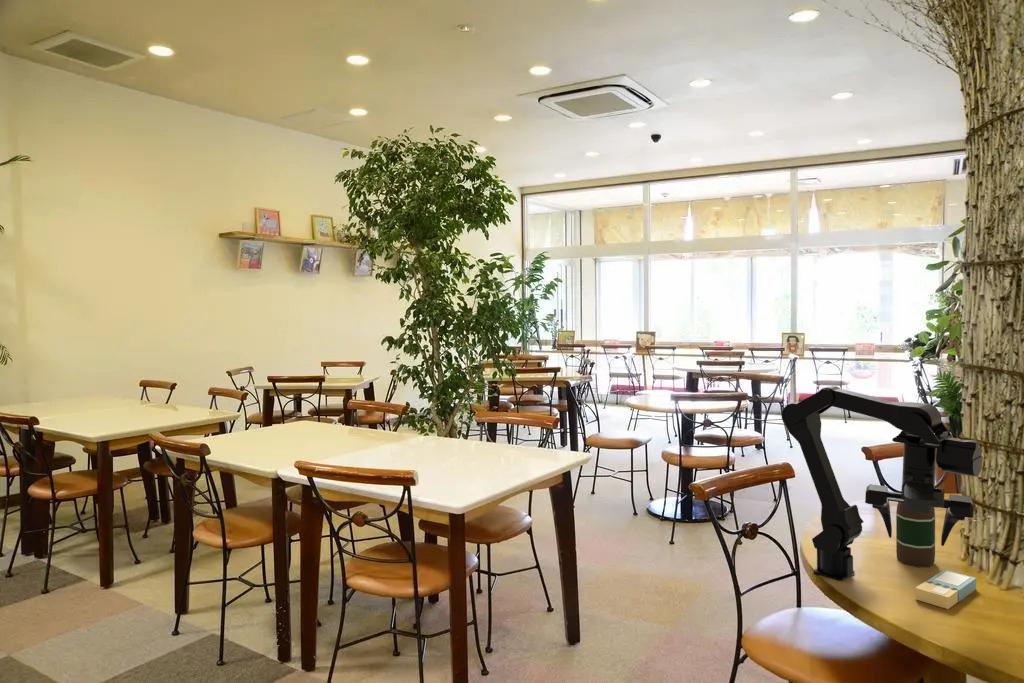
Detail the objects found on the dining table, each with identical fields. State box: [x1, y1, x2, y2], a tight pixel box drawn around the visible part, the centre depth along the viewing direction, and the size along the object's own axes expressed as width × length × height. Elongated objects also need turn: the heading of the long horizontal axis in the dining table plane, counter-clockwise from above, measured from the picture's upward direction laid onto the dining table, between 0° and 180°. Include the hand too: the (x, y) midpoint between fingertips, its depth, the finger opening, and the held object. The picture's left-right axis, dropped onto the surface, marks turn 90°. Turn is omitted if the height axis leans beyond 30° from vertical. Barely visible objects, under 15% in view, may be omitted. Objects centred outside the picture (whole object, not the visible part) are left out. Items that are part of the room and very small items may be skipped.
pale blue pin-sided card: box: [926, 569, 977, 603], centre depth 144 cm, size 6×9×2 cm, turn 128°
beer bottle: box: [895, 502, 936, 568], centre depth 159 cm, size 8×8×24 cm
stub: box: [914, 580, 958, 610], centre depth 139 cm, size 6×5×2 cm
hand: (915, 541), depth 141 cm, fingers open, 9 cm apart
